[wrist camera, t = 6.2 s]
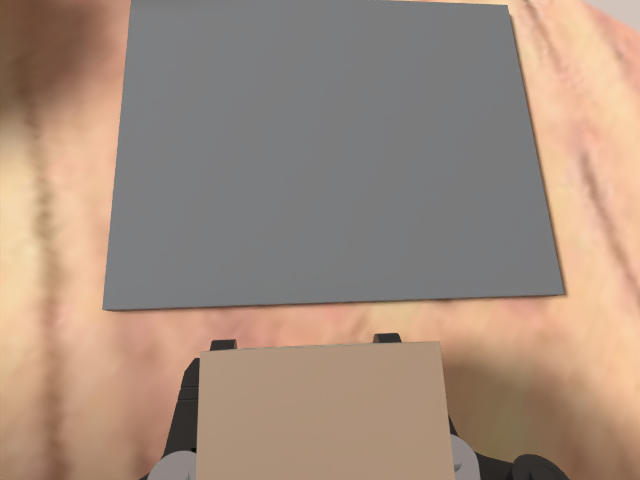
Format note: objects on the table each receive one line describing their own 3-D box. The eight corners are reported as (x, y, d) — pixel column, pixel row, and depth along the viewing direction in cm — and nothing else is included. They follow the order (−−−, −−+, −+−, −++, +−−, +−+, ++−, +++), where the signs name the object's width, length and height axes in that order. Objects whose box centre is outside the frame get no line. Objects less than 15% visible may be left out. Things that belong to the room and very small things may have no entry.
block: (246, 466, 16) (189, 656, 6) (247, 348, 17) (199, 351, 7) (359, 458, 16) (472, 625, 7) (352, 343, 17) (440, 341, 8)
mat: (108, 311, 17) (102, 309, 16) (136, 0, 21) (132, -10, 20) (555, 295, 19) (564, 294, 18) (501, 13, 23) (507, 5, 22)
